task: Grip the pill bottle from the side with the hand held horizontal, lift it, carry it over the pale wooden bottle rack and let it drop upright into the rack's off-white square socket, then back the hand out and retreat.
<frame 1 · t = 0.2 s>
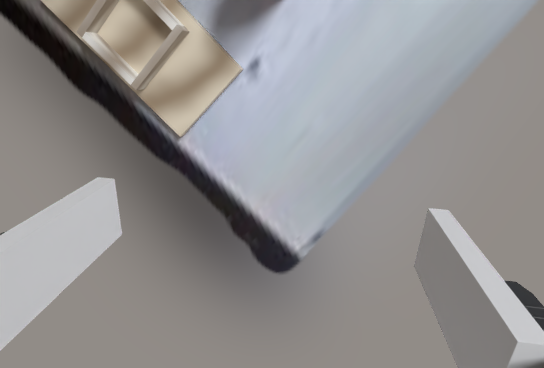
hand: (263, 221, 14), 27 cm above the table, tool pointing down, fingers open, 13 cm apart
bottle rack: (143, 33, 39), on the table
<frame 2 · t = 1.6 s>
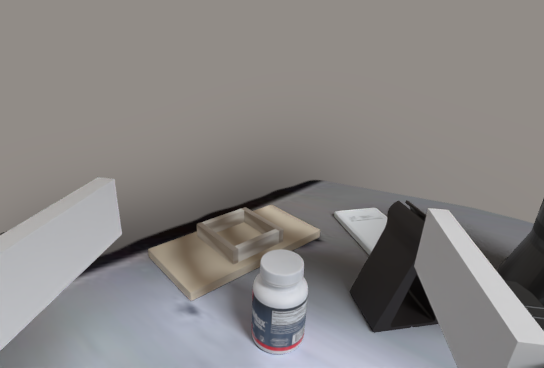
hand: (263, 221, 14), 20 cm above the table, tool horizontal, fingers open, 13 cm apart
external hard drive: (373, 236, 55), on the table
bottle rack: (239, 246, 49), on the table
phone stand: (396, 308, 39), on the table
pill bottle: (277, 335, 35), on the table
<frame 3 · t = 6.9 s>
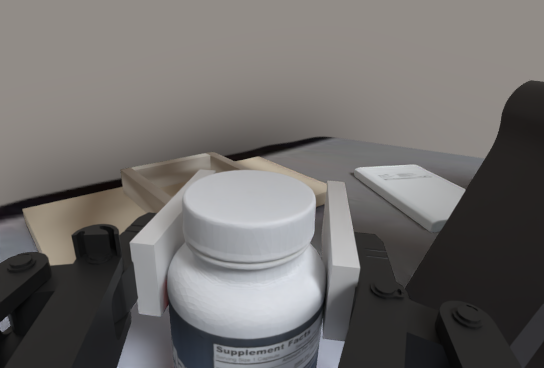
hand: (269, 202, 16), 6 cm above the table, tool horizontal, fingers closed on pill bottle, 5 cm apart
external hard drive: (420, 203, 34), on the table
bottle rack: (197, 210, 28), on the table
phone stand: (510, 327, 18), on the table
when the fingers open (8 cm above the table, at t = 11.8 s): pill bottle stays where it is, resting on bottle rack.
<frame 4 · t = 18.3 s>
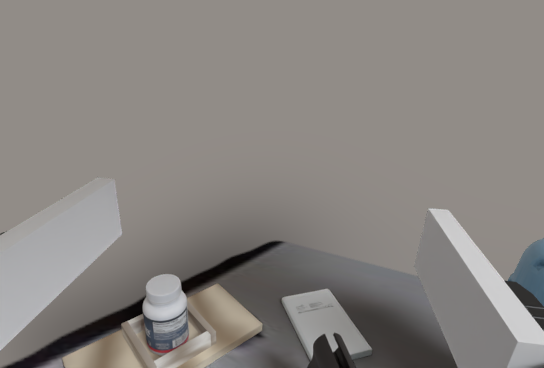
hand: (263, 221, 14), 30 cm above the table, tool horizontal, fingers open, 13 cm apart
external hard drive: (322, 330, 49), on the table
bottle rack: (170, 346, 44), on the table
pill bottle: (168, 341, 44), point 1 cm above the table, touching bottle rack
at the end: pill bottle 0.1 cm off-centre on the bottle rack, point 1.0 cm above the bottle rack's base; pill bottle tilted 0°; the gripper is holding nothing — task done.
